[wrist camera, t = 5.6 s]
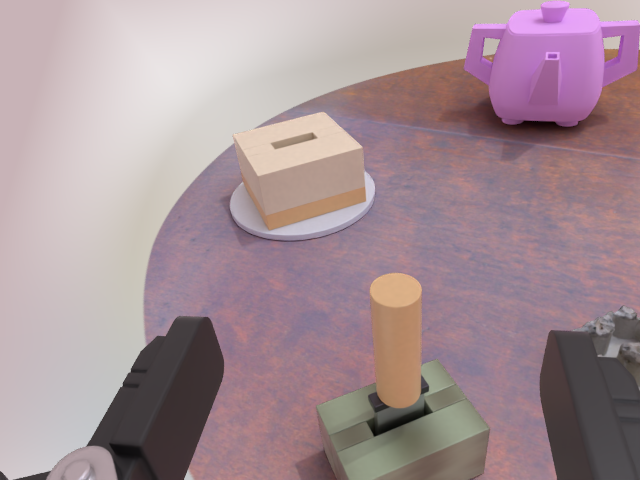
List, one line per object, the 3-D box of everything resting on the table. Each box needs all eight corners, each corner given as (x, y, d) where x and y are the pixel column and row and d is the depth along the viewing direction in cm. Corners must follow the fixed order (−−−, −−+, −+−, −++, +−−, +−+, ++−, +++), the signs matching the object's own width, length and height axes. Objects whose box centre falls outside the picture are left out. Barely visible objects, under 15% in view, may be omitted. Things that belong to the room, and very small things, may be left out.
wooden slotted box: (268, 230, 58) (257, 176, 54) (243, 184, 67) (232, 134, 63) (366, 201, 61) (362, 147, 56) (329, 160, 70) (323, 111, 66)
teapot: (538, 79, 87) (552, -19, 78) (639, 110, 73) (669, -4, 65) (447, 111, 81) (451, 8, 72) (539, 152, 67) (557, 31, 58)
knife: (385, 488, 34) (374, 317, 25) (368, 454, 36) (352, 285, 27) (434, 467, 34) (440, 293, 25) (414, 435, 37) (414, 263, 27)
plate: (204, 231, 61) (202, 225, 60) (266, 159, 74) (265, 154, 73) (351, 249, 55) (350, 243, 54) (390, 167, 68) (390, 162, 68)
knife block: (358, 530, 32) (352, 488, 29) (323, 449, 36) (315, 405, 34) (484, 473, 34) (490, 428, 31) (435, 403, 38) (437, 358, 36)
